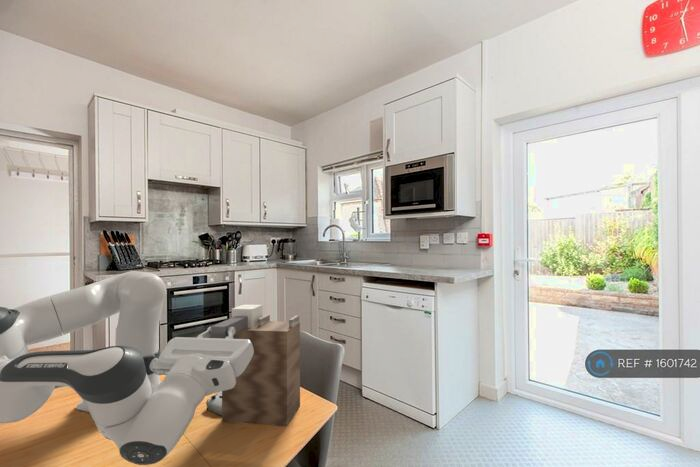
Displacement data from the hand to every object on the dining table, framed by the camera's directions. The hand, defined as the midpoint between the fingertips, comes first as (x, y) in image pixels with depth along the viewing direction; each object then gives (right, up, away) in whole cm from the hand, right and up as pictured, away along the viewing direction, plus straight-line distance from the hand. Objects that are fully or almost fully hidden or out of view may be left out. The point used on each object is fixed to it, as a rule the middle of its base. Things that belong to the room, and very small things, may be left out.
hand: (222, 328), depth 81 cm
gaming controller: (-5, -27, +15) cm, 32 cm away
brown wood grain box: (+7, -26, +10) cm, 29 cm away
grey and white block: (+1, -2, +7) cm, 8 cm away
